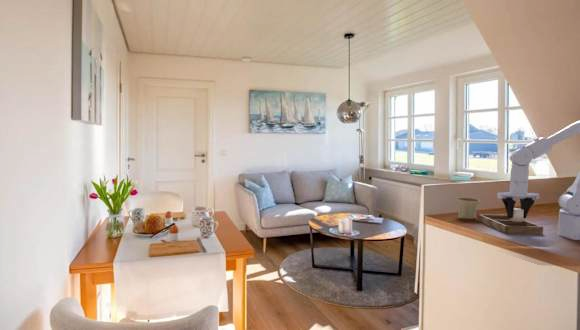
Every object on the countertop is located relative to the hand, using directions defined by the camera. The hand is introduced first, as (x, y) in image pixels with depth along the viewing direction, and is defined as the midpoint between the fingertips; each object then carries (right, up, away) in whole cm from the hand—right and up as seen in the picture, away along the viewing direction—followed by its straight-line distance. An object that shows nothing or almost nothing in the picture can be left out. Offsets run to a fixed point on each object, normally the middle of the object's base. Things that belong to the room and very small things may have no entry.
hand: (516, 217), depth 143 cm
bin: (0, -5, +5) cm, 7 cm away
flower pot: (-8, -4, +22) cm, 24 cm away
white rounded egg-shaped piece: (0, -1, 0) cm, 1 cm away
